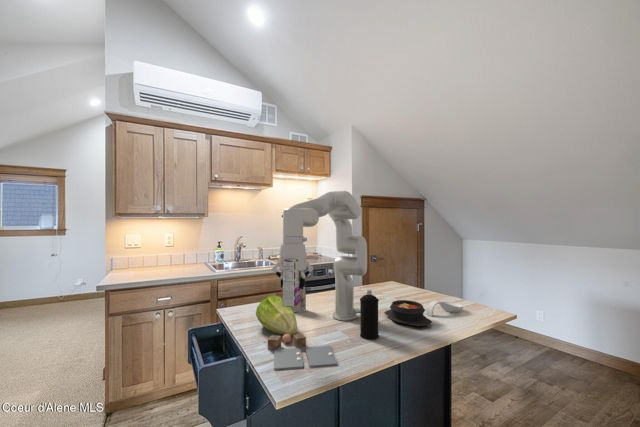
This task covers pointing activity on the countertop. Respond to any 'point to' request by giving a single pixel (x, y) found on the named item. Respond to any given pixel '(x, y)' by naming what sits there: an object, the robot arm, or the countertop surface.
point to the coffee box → (301, 302)
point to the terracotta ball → (286, 338)
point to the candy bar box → (291, 283)
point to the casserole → (408, 313)
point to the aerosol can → (369, 316)
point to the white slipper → (445, 305)
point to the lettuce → (276, 316)
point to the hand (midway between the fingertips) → (292, 288)
